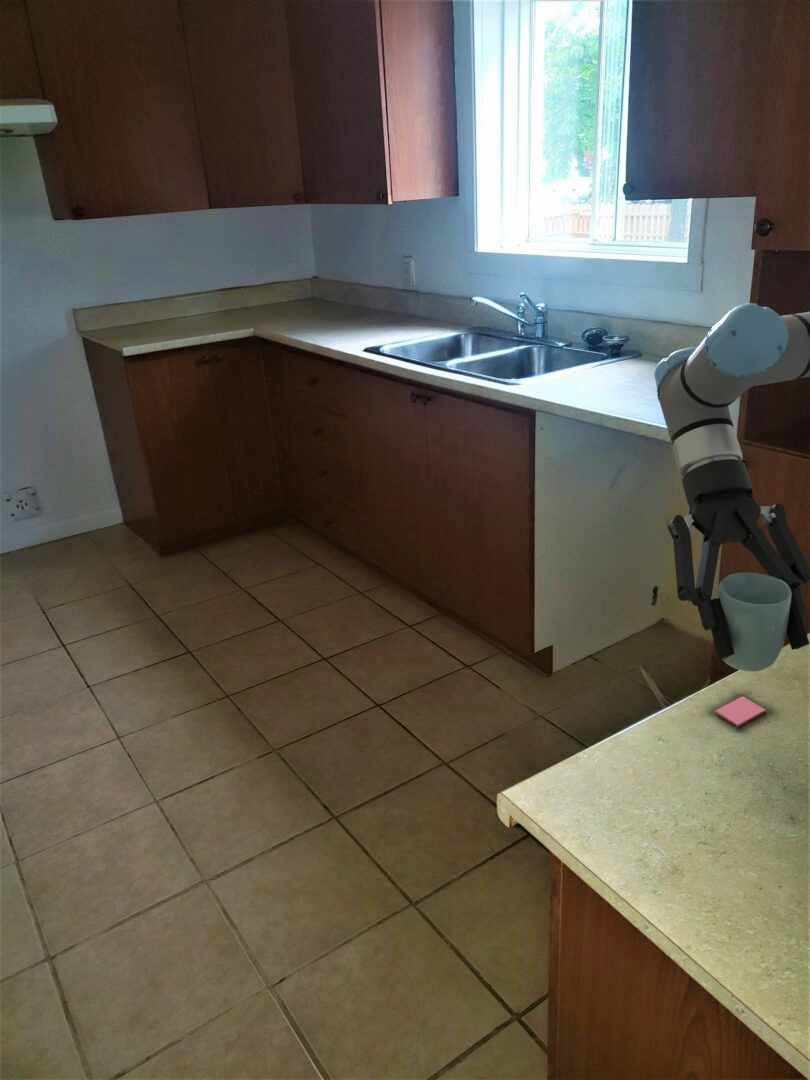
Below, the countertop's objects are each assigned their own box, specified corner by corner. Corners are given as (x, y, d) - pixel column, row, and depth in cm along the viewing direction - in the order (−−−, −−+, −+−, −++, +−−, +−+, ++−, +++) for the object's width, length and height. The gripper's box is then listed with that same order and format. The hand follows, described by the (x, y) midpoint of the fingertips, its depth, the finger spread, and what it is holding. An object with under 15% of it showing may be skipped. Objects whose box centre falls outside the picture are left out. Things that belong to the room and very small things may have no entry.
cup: (787, 653, 98) (799, 580, 93) (772, 688, 92) (784, 612, 88) (720, 637, 102) (728, 566, 98) (702, 669, 96) (710, 595, 92)
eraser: (741, 702, 103) (742, 696, 102) (764, 716, 100) (765, 709, 100) (714, 717, 101) (715, 710, 100) (737, 731, 98) (738, 725, 97)
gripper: (779, 472, 104) (834, 646, 97) (620, 491, 103) (663, 669, 95) (808, 446, 97) (869, 632, 90) (638, 466, 95) (686, 656, 88)
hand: (763, 651), depth 92 cm, fingers closed on cup, 8 cm apart
